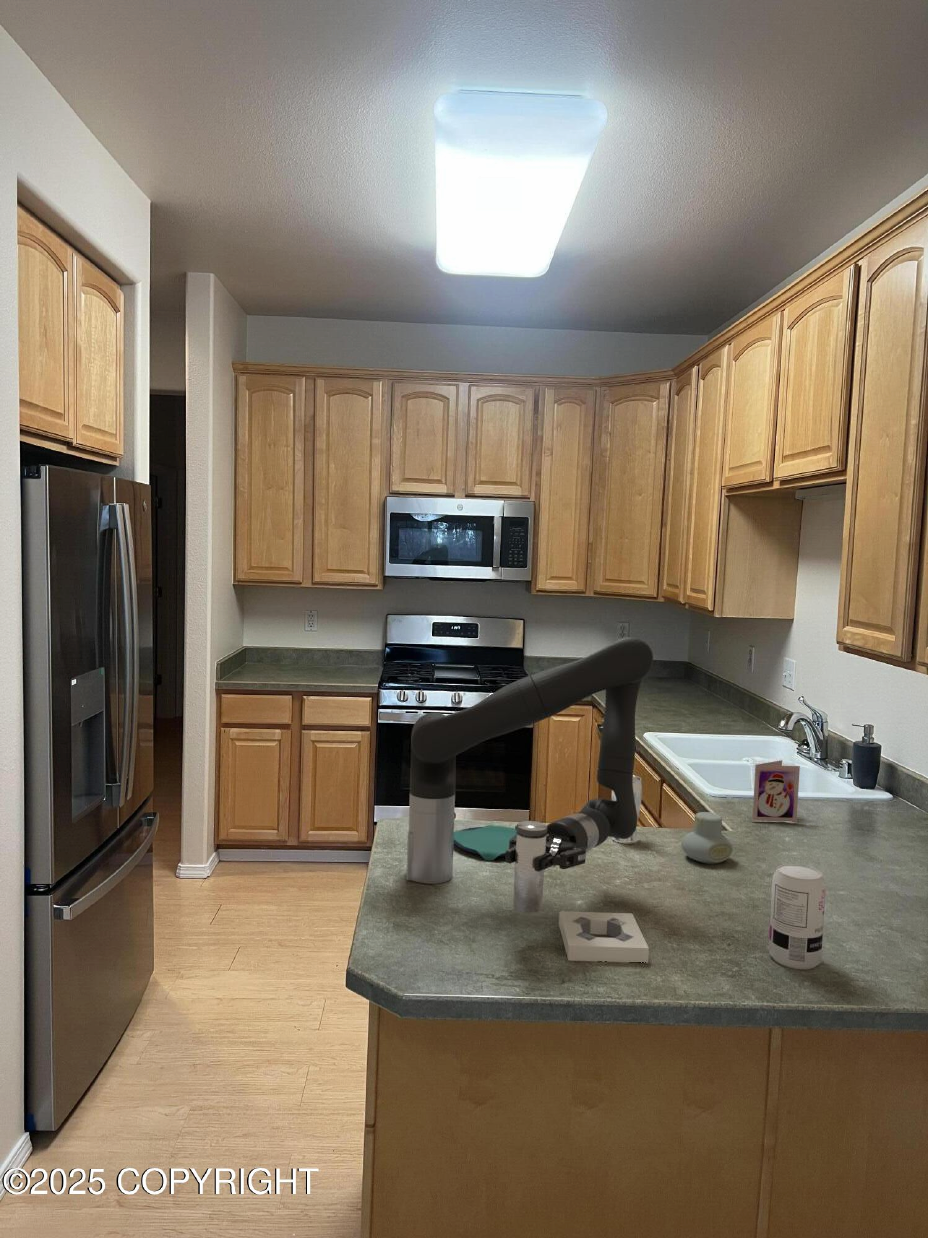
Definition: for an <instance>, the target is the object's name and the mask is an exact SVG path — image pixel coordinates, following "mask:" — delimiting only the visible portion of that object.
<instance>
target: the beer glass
mask: <svg viewBox="0 0 928 1238" xmlns="http://www.w3.org/2000/svg"><path fill="white" fill-rule="evenodd" d="M632 782H633V792H634V800H635V805H636V811H637V821H638V820H639V815H640V810H641V807H642V806H641V804H642V797H643V796H642V795H643V793H642V791H643V789H642V777H641V776H637V775H634V774H633V779H632ZM611 800H612V801H617V799H616V796H615V793H614V791H613V790H611ZM637 829H638V828H637V827H636V830H635V832H634V833H633V835H632V836H631V837H629V838H627V839H619V838H614V837H611V840H612V841H613V840H614V841H613V842H615V843H618V842H619V843H618V844H622V843H623V844H624V845H632V843H633V844H636V843H637V842H638V841H639V840H638V838H639V837H638V832H637ZM635 842H636V843H635Z"/></svg>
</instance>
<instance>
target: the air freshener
mask: <svg viewBox="0 0 928 1238" xmlns="http://www.w3.org/2000/svg"><path fill="white" fill-rule="evenodd" d="M693 822H694V825H693V831H690V832H688V833H687V834H686V835H685V836H684V837H683V838H682V841H681V848H682V850H683V852H684V853H685V855H687V856H688V858H690V859H692V860H694V861H696V862H699V863H703V864H707V863H708V864H709V865H717V864H719V863H722V862H725V861H726V860H727V859H729V858H730V857H731V855H732V854H733V848H734V847H733V844H732V842H731V841H730V839H728V837H727V836H726V835H724V834H722V830H723V817H722V816H721V815H720V814H718V813H714V812H709V811H707V812H706V811H702V812H701V811H700V812H697V813H695V814H694V821H693Z"/></svg>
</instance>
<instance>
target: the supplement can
mask: <svg viewBox="0 0 928 1238" xmlns="http://www.w3.org/2000/svg"><path fill="white" fill-rule="evenodd" d="M771 880H772V883H771V884H772V885H771V899H770V900H771V903H770V917H769V919H770V920H769V937H768V953H769V955H770V957H772V959H773V960H774V961H775V962H777V963H778V964H780V965H782V966H784V967H787V968H790V969H797V970H812V969H814V968H816V967H817V966H818V965H820V964H821V963H822V953H823V938H824V937H823V935H824V922H825V921H824V920H825V919H824V918H825V903H826V887H827V885H826V881H825V879H824V877H823V873H822V872H821V871H820V870H818V869H817V868H815V867H811V866H806V865H802V864H797V863H796V864H794V863H793V864H791V863H789V864H788V863H785V864H780V865H779V866H777V869H776V871H775V872H774V873H773V876H772V879H771Z"/></svg>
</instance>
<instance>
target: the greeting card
mask: <svg viewBox="0 0 928 1238" xmlns="http://www.w3.org/2000/svg"><path fill="white" fill-rule="evenodd" d="M754 765H755V768H754V784H753V786H754V787H753V804H752V806H753V807H752V819H753V820H762V821H765V820H767V821H792V822H797V823H798V804H799V789H800V788H799V785H800V771H801V770H800V769H801V768H800V767H801V766H800V765H783V760H782V759H780V760H775V761H771V762H765V763H759V764H758V763H757V764H754Z"/></svg>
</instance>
